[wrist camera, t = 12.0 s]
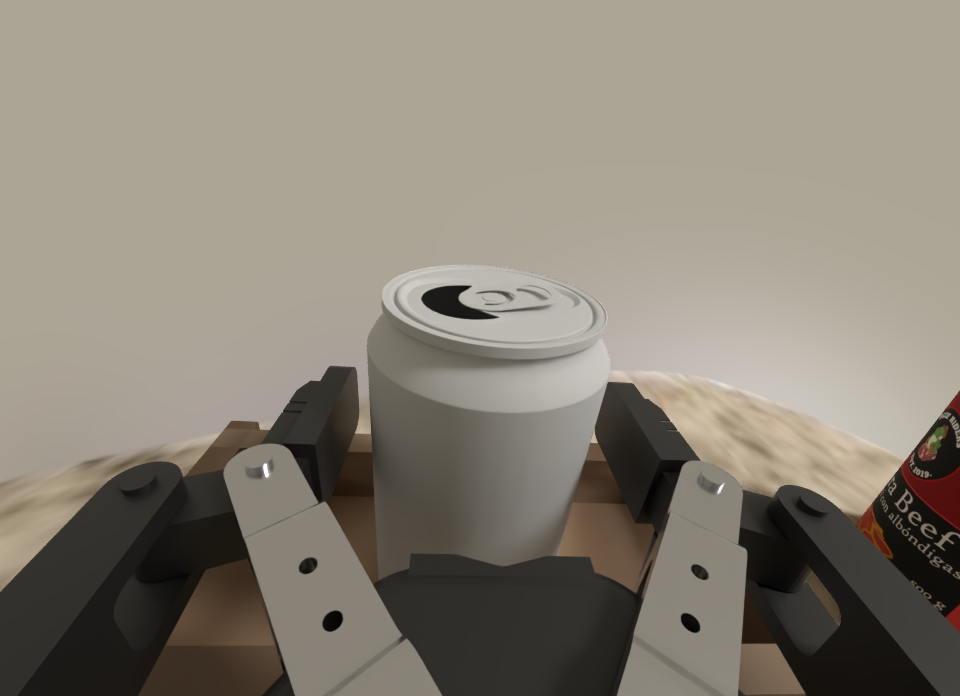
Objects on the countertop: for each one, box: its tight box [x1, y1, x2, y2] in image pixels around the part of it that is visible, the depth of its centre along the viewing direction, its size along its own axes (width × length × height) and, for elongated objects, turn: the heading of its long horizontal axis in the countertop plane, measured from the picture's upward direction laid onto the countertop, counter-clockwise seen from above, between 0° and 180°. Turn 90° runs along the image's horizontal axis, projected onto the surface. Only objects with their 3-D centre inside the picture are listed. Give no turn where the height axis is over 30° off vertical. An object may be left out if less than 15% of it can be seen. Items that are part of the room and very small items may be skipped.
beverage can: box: [367, 265, 611, 581], centre depth 13 cm, size 6×6×12 cm
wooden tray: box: [138, 421, 806, 696], centre depth 15 cm, size 22×11×4 cm, turn 93°
